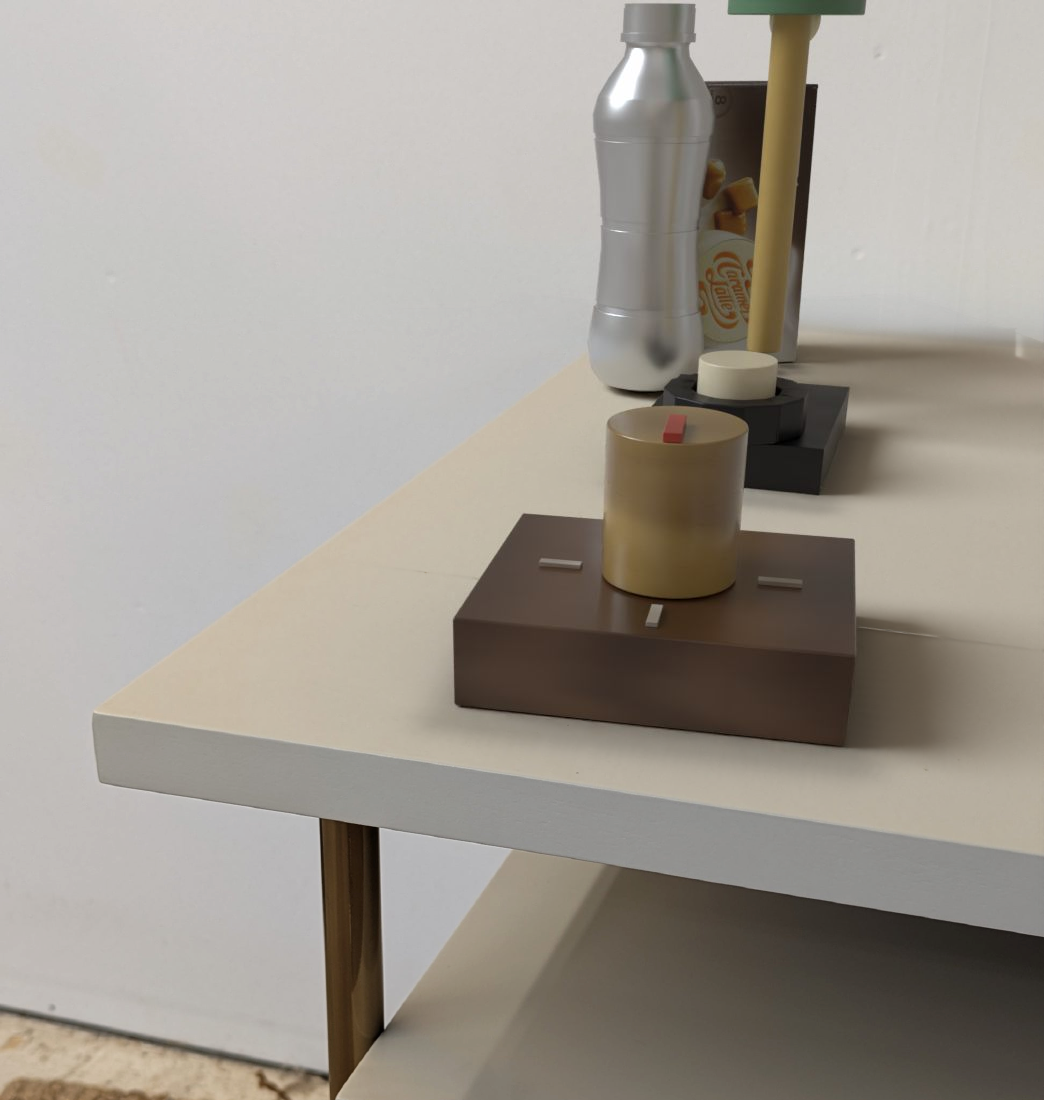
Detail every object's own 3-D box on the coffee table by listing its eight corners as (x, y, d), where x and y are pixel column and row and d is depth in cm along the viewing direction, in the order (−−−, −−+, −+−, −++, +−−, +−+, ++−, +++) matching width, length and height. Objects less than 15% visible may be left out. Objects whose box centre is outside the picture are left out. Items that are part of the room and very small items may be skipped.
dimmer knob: (609, 545, 46) (615, 392, 43) (738, 554, 45) (751, 399, 43) (593, 594, 42) (598, 429, 40) (733, 604, 41) (747, 437, 39)
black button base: (678, 413, 73) (682, 339, 71) (845, 428, 71) (853, 352, 69) (622, 481, 62) (625, 396, 60) (817, 501, 60) (826, 413, 58)
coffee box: (765, 342, 89) (787, 78, 82) (797, 364, 84) (825, 83, 76) (631, 346, 88) (642, 79, 81) (655, 368, 82) (669, 83, 75)
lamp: (717, 329, 74) (747, -102, 64) (834, 337, 72) (883, -104, 63) (694, 354, 68) (724, -113, 59) (821, 363, 66) (872, -116, 57)
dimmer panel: (845, 616, 48) (855, 533, 47) (844, 747, 39) (857, 650, 38) (522, 587, 50) (522, 508, 49) (453, 705, 42) (451, 613, 40)
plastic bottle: (688, 407, 74) (712, 2, 65) (571, 397, 76) (579, 2, 67) (711, 381, 79) (737, 4, 70) (602, 372, 81) (613, 4, 72)
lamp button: (704, 384, 64) (707, 347, 63) (779, 390, 63) (783, 353, 62) (689, 402, 61) (692, 364, 60) (768, 409, 60) (772, 370, 59)
